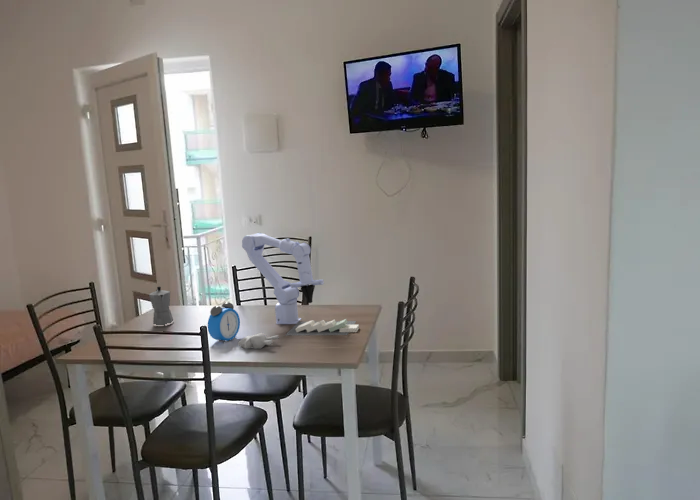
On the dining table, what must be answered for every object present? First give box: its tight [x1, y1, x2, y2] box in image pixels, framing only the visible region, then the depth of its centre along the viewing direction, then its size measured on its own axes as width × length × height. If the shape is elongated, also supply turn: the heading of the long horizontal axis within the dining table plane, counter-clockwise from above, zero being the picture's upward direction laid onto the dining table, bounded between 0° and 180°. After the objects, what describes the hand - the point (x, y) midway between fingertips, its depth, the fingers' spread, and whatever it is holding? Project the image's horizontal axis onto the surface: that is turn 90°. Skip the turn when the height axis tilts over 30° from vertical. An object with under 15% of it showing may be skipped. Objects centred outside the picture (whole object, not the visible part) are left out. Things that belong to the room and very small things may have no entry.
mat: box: [284, 320, 357, 337], centre depth 229 cm, size 26×19×1 cm
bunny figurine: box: [237, 332, 280, 350], centre depth 211 cm, size 10×5×15 cm
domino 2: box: [306, 319, 325, 333], centre depth 225 cm, size 2×5×7 cm
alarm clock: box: [207, 301, 241, 343], centre depth 222 cm, size 13×6×15 cm, turn 151°
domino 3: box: [317, 319, 337, 332], centre depth 224 cm, size 2×5×7 cm
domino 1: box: [295, 319, 316, 332], centre depth 226 cm, size 2×5×7 cm
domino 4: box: [329, 318, 348, 332], centre depth 223 cm, size 2×5×7 cm
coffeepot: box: [148, 286, 174, 325], centre depth 254 cm, size 15×9×18 cm, turn 26°
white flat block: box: [339, 324, 360, 333], centre depth 223 cm, size 2×5×7 cm
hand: (310, 302), depth 236 cm, fingers closed
